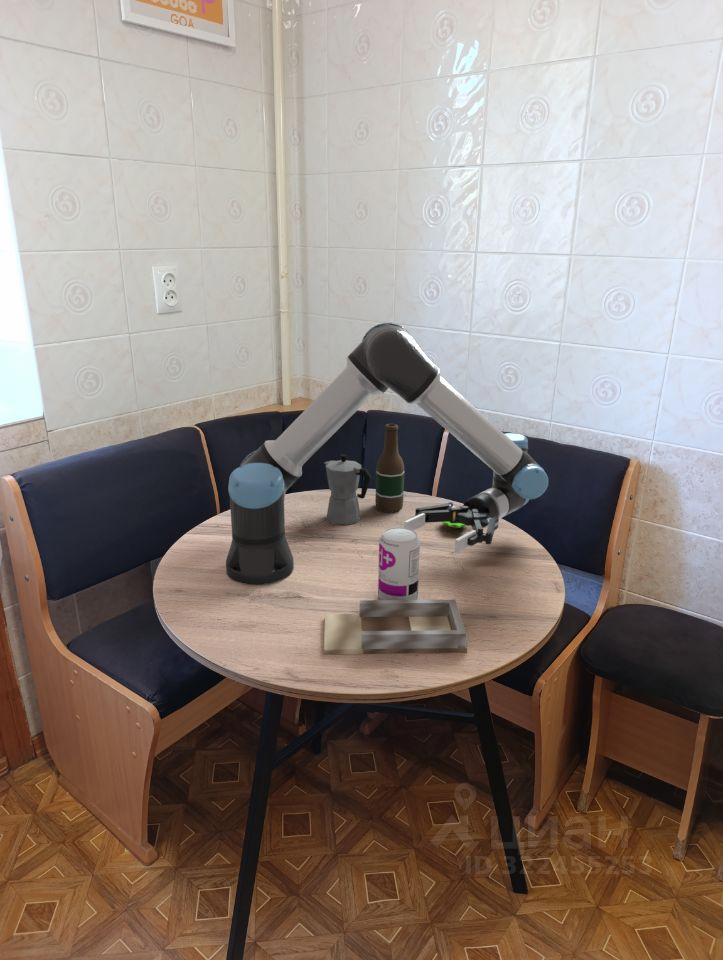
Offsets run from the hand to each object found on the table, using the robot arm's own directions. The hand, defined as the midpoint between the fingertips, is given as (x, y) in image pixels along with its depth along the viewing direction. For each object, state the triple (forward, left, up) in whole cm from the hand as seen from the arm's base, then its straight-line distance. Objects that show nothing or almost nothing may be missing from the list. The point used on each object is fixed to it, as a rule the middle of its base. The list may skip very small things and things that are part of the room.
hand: (430, 536), depth 141 cm
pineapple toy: (+11, +29, -11) cm, 33 cm away
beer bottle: (-5, +43, -11) cm, 45 cm away
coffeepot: (-17, +35, -11) cm, 41 cm away
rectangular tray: (-9, -20, -11) cm, 25 cm away
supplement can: (-7, -7, -11) cm, 15 cm away
